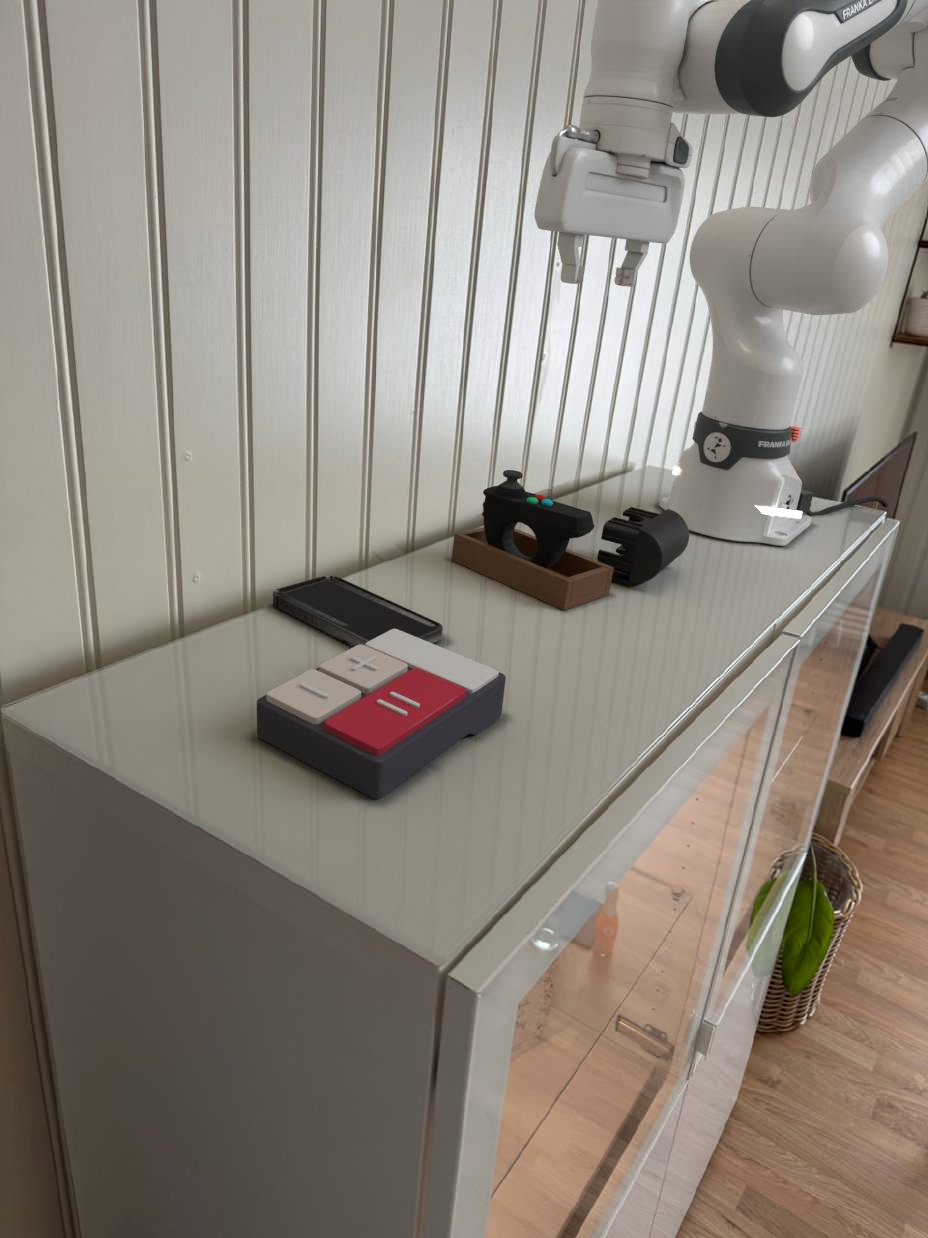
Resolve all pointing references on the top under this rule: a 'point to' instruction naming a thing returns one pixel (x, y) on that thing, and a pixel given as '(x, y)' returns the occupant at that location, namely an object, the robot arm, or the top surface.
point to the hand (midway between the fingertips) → (598, 284)
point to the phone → (351, 611)
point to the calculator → (381, 710)
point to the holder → (535, 569)
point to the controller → (531, 520)
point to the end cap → (643, 544)
